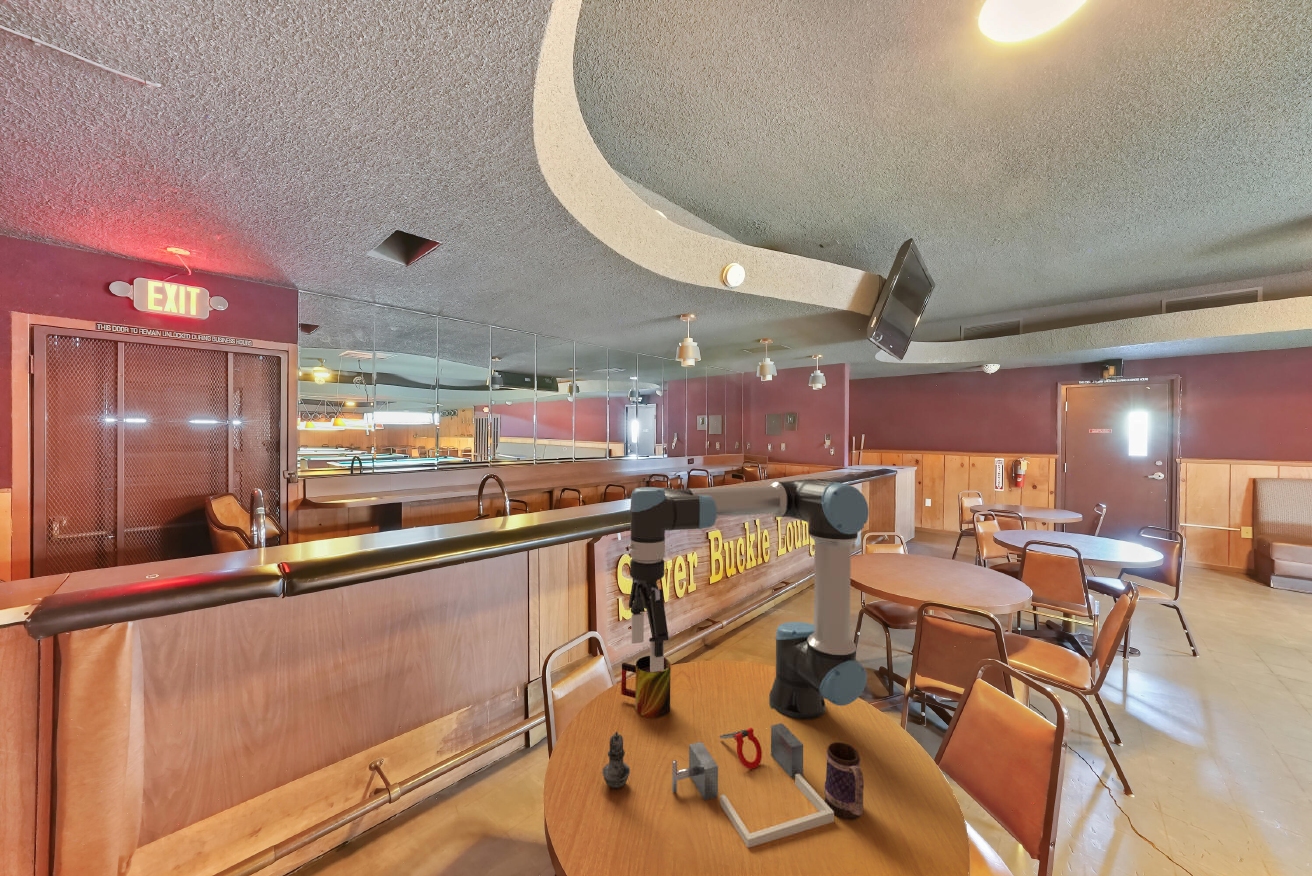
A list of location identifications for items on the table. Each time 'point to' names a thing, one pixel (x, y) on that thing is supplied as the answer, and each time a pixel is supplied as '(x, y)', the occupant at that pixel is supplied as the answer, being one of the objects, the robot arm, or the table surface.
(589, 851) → the table surface
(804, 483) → the robot arm
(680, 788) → the table surface
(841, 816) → the mug
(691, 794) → the table surface
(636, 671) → the mug
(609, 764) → the chess piece
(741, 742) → the tow hook
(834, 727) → the table surface
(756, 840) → the corral
